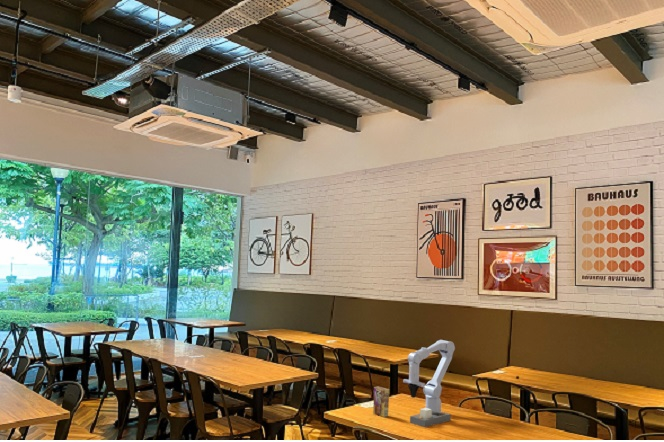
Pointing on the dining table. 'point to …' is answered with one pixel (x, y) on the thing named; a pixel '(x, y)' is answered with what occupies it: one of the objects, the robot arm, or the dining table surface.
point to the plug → (426, 413)
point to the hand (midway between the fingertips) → (413, 397)
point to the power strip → (431, 419)
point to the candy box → (381, 401)
